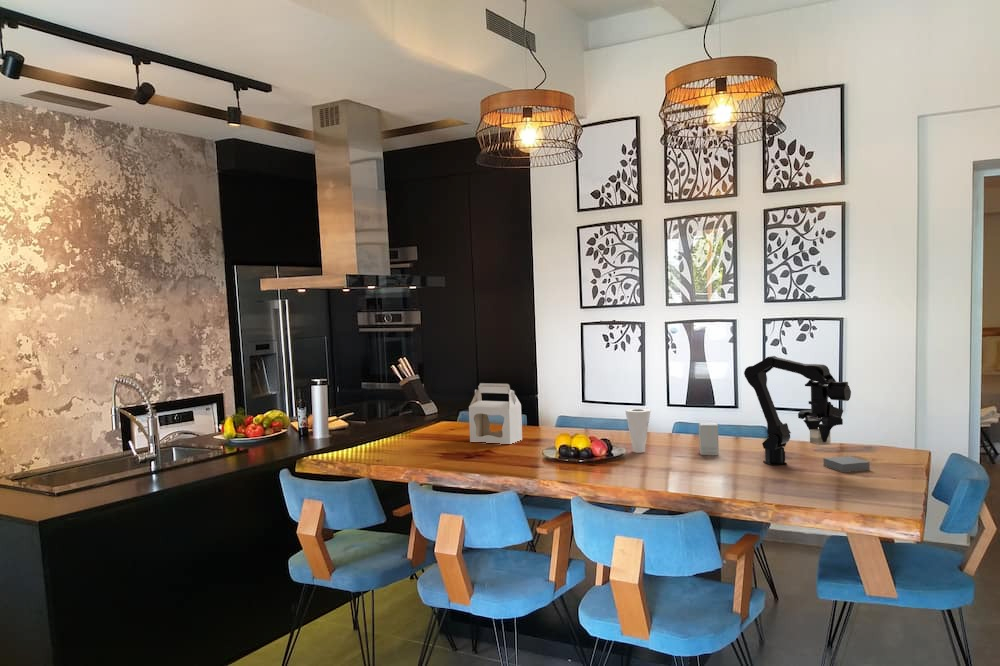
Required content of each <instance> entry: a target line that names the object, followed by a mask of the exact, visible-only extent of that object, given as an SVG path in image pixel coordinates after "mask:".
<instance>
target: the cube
mask: <svg viewBox="0 0 1000 666" xmlns="http://www.w3.org/2000/svg"><path fill="white" fill-rule="evenodd" d="M809 444H812V445H815V446H827V445H831V432H830V433H829V436H828V438H827V441H826V442H823V440H822V437H821V434H820V430H819V428H818V429H810V430H809Z"/></svg>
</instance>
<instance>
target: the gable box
mask: <svg viewBox="0 0 1000 666" xmlns="http://www.w3.org/2000/svg"><path fill="white" fill-rule="evenodd" d="M477 387H478V388H477V389H474V395H473V397H472V400H471V402H470V403H469V406H468V418H469V424H468V425H469V443H471V442H486V443H500V444H499V445H501V444H512V443H514V444H516V443H518V442H517V441H519V442H521V441H523V424H522V423H523V422H522V420H523V418H522V416H523V415H522V404H521V402H520V400H519V399H518V397H517V395H516V391H515V390H513V389H511V385H510V384H509V383H495V382H494V383H492V382H490V383H487V382H486V383H485V382H480V383H479V385H478V386H477ZM482 394H506V395H507V394H508V401H507V400H506V401H505V400H482ZM488 416H502V417H503V419H504V420H503V424H502V428H501V429H500V430H497V431H492V430H491V429H490V426H491V425H490V424H491V422H490V420H489V417H488ZM520 440H521V441H520ZM515 442H516V443H515ZM486 443H485V444H486ZM512 445H513V444H512Z"/></svg>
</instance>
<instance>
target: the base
mask: <svg viewBox="0 0 1000 666" xmlns="http://www.w3.org/2000/svg"><path fill="white" fill-rule="evenodd" d="M870 464H871V463H870V461H867V460H864V459H861V458H857V457H854V456H851V455H847V456H836V457H834V456H832V457H824V458H823V467H825V466H827V467H826V468H828V467H829V469H831V468H833V469H832V470H834V469H836V470H835V471H837V470H838V471H837V472H840V471H841V472H840V473H850V472H849V471H855V472H862V471H861V470H867V471H870Z"/></svg>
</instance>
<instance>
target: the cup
mask: <svg viewBox="0 0 1000 666" xmlns="http://www.w3.org/2000/svg"><path fill="white" fill-rule="evenodd" d="M625 415H626V419H627V426H628V431H629V435H630V441H631V446H632V451H633V453H636V454H637V453H638V454H641V453H645V452H646V445H647V437H648V430H649V424H650V417H651V409H648V408H639V407H638V408H627V409H625Z"/></svg>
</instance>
